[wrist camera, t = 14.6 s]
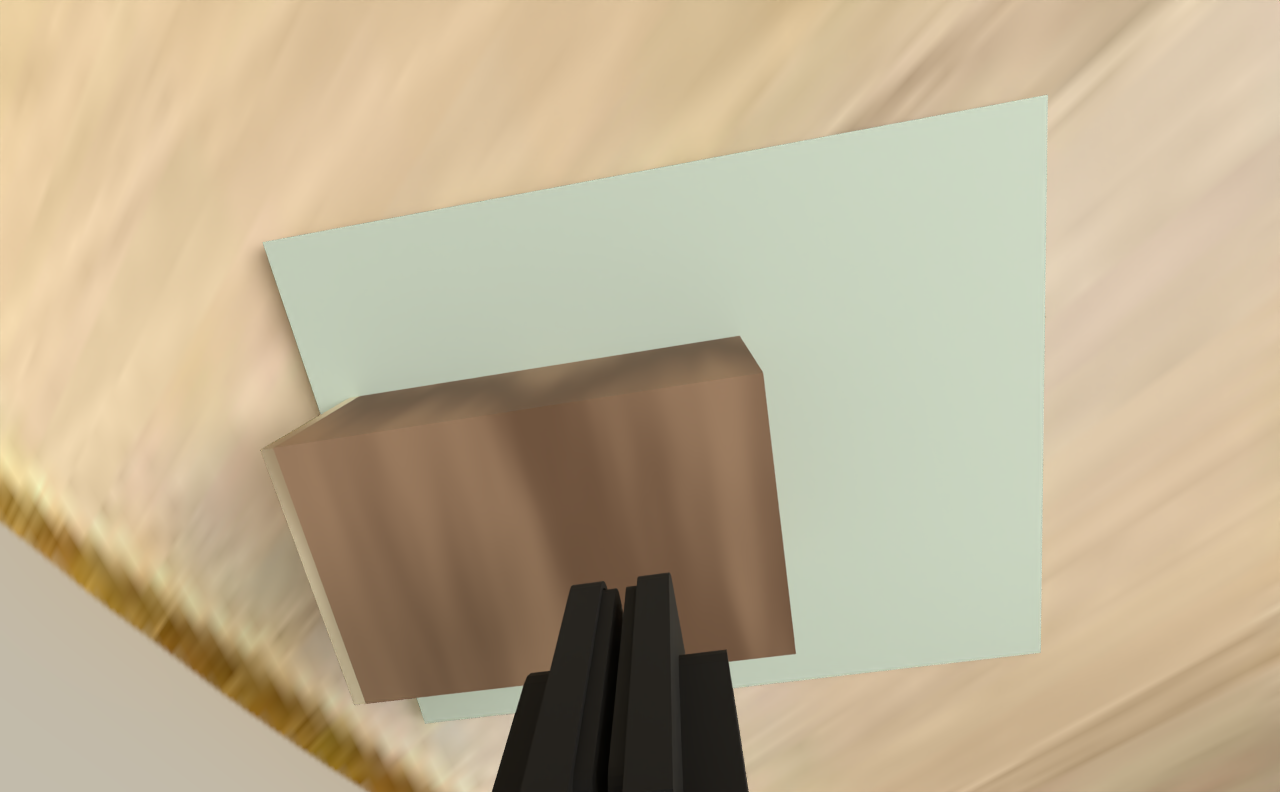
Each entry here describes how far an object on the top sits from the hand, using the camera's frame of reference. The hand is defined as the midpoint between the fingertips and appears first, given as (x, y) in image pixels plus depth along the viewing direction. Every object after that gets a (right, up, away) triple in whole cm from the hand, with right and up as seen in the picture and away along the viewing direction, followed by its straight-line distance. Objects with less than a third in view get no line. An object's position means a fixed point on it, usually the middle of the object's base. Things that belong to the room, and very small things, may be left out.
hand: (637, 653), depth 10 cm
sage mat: (+1, +2, +8) cm, 8 cm away
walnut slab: (+3, +2, +5) cm, 6 cm away
